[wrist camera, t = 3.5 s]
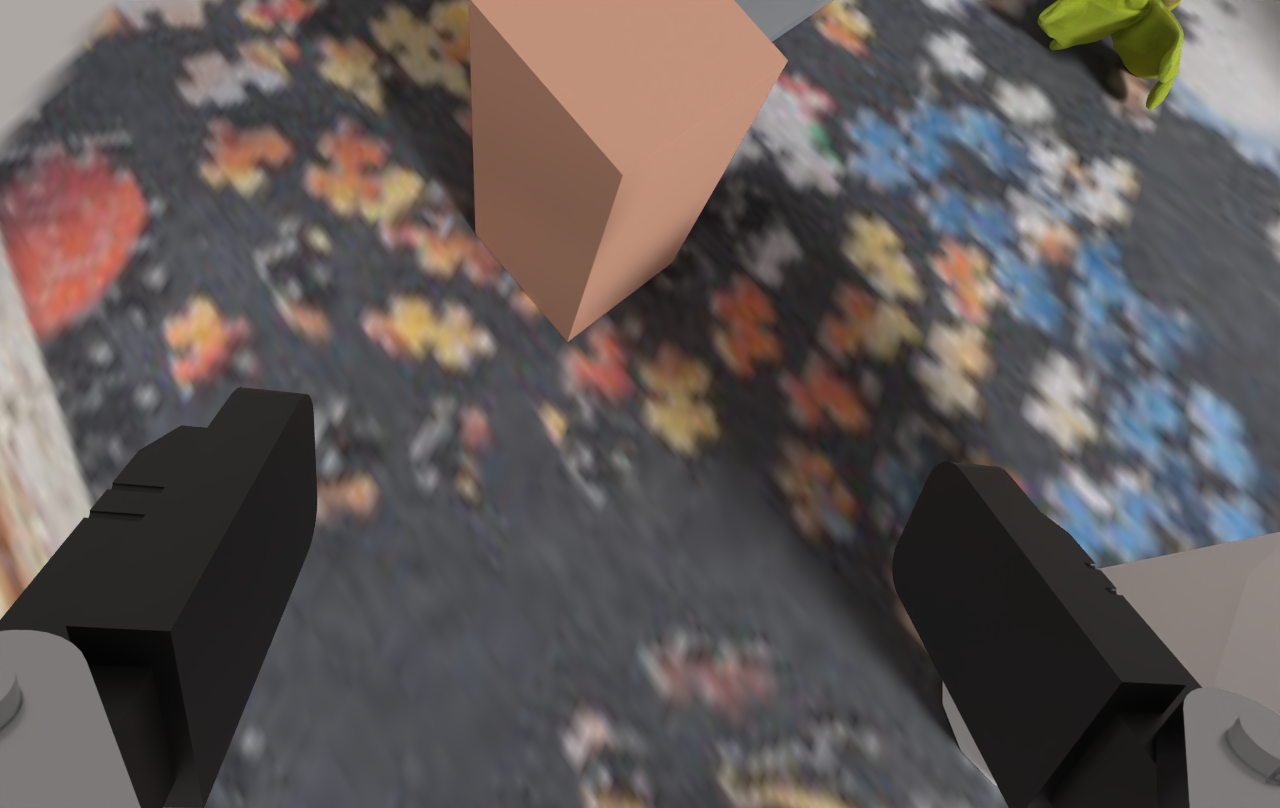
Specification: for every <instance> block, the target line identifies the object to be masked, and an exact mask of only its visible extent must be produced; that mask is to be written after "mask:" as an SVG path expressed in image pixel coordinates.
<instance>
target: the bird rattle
mask: <svg viewBox="0 0 1280 808" xmlns="http://www.w3.org/2000/svg"><path fill="white" fill-rule="evenodd" d="M1180 2H1181V0H1057V1H1056V2H1055V3H1053V4H1052V5H1050V6H1049V7H1048V8H1046V9H1045V10H1044V11H1043V12H1042V13H1041V14H1040V15H1039V19H1038V25H1039V26H1040V27H1041V29H1042V30H1043V31H1044V32H1045V33H1046V34H1047V35H1048V36H1049V37H1051V38H1054V40H1053V41H1052V42H1051V43H1050V45H1049V48H1050V49H1051V50H1061V49H1066V48H1068V47H1071V46H1075V45H1080V44H1088V43H1092V42H1096V41H1099V40H1102V39H1104V38H1106V37H1107V36H1109V35H1111V38H1112V40H1113V46H1114V48H1115V49H1116V51H1117V53H1118V55H1119V56H1120V57H1121V59H1122V62H1123V64H1124V66H1125V67H1126V68H1127V69H1128V70H1129V71H1130V72H1131V73H1132V74H1134V75H1135V76H1137V77H1140V78H1143V79H1155V78H1159V81H1158V82H1157V83H1156V85H1155V86H1154V87H1153V89H1152V90H1151V92H1150V94H1149V95H1148V98H1147V101H1146V107H1147V108H1148V109H1149V110H1152V109H1153V108H1155V107H1156V106H1158V105H1159V104H1160V103H1161V102H1162V101H1163V100H1164V99H1165V97H1166V96H1167V94H1168V92H1169V90H1170V88H1171V86H1172V84H1173V81H1174V79H1175V78H1176V76H1177V74H1178V71H1179V64H1180V55H1181V48H1182V44H1183V37H1184V33H1183V30H1182V28H1181V26H1180V24H1179V22H1178V21H1177V19H1176V18H1175V17H1174V15H1173V14H1172V13H1171V12H1170V11H1171V10H1172V9H1174V8H1175V7H1177V6H1178V5H1179V3H1180Z"/></svg>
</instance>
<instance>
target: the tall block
mask: <svg viewBox="0 0 1280 808" xmlns="http://www.w3.org/2000/svg"><path fill="white" fill-rule="evenodd" d="M468 2H469V35H470V67H471V100H472V132H473V165H474V198H475V230H476V235H477V236H478V237H479V239H480V240H481V241H482V242H483V243H484V244H485V246H486V247H487V248H488V249H489V250H490V252H491V253H492V254H493V255H494V256H495V257H496V259H497V260H498V261H499V262H500V263H501V264H502V266H503V267H504V268H505V269H506V270H507V272H508V273H509V274H510V275H511V276H512V277H513V279H514V280H515V281H516V282H517V283H518V284H519V286H520V287H521V288H522V289H523V290H524V292H525V293H526V294H527V295H528V296H529V297H530V299H531V300H532V301H533V302H534V303H535V304H536V306H537V307H538V308H539V309H540V310H541V312H542V313H543V314H544V315H545V316H546V317H547V319H548V320H549V321H550V322H551V323H552V325H553V326H554V327H555V328H556V329H557V330H558V332H559V333H560V334H561V335H562V336H563V337H564V339H565V340H566V341H567V342H568V341H570V340H571V339H572V338H574V337H575V336H576V335H578V334H579V333H580V332H582V331H583V330H584V329H585V328H587V327H588V326H589V325H591V324H592V323H593V322H595V321H596V320H597V319H599V318H600V317H601V316H603V315H604V314H605V313H607V312H608V311H609V310H610V309H612V308H613V307H614V306H616V305H617V304H618V303H620V302H621V301H622V300H624V299H625V298H626V297H628V296H629V295H630V294H631V293H633V292H634V291H635V290H637V289H638V288H639V287H641V286H642V285H643V284H645V283H646V282H647V281H649V280H650V279H651V278H653V277H654V276H655V275H656V274H658V273H659V272H660V271H662V270H663V269H664V268H666V267H667V266H668V265H670V264H671V263H672V262H673V260H674V259H675V257H676V255H677V253H678V252H679V250H680V248H681V246H682V245H683V243H684V241H685V239H686V238H687V236H688V234H689V232H690V231H691V229H692V227H693V225H694V224H695V222H696V220H697V218H698V217H699V215H700V213H701V211H702V210H703V208H704V206H705V204H706V203H707V201H708V199H709V197H710V196H711V194H712V192H713V190H714V189H715V187H716V185H717V183H718V182H719V180H720V178H721V176H722V175H723V173H724V171H725V170H726V168H727V166H728V164H729V163H730V161H731V159H732V157H733V156H734V154H735V152H736V150H737V149H738V147H739V145H740V143H741V142H742V140H743V138H744V136H745V135H746V133H747V131H748V129H749V128H750V126H751V124H752V122H753V121H754V119H755V117H756V115H757V114H758V112H759V110H760V108H761V107H762V105H763V103H764V101H765V100H766V98H767V96H768V94H769V93H770V91H771V89H772V87H773V86H774V84H775V82H776V80H777V79H778V77H779V75H780V74H781V72H782V70H783V68H784V67H785V65H786V63H787V61H788V60H787V59H786V58H785V57H784V56H783V54H782V53H781V52H780V51H779V50H778V49H777V48H776V47H775V45H774V44H773V43H772V42H771V41H770V40H769V39H768V38H767V36H766V35H765V34H764V33H763V32H762V31H761V30H760V29H759V28H758V26H757V25H756V24H755V23H754V22H753V21H752V20H751V19H750V17H749V16H748V15H747V14H746V13H745V12H744V11H743V10H742V8H741V7H740V6H739V5H738V4H737V3H736V2H735V1H734V0H468Z"/></svg>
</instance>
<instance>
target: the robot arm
mask: <svg viewBox="0 0 1280 808" xmlns="http://www.w3.org/2000/svg"><path fill="white" fill-rule="evenodd" d="M316 513H317V481H316V457H315V434H314V412H313V404H312V400H311V398H310V396H309V395H307V394H300V393H290V392H280V391H271V390H261V389H251V388H241V387H240V388H237V389H236V390H235V391H234V392H233V393H232V394H231V396H230V397H229V398H228V400H227V401H226V403H225V404H224V405H223V407H222V408H221V409H220V411H219V412H218V414H217V415H216V416H215V418H214V419H213V421H212V422H211V423H210V425H209V426H208V428H203V427H192V426H180V427H178V428H176V429H175V430H173V431H171V432H170V433H168V434H166V435H164V436H163V437H161V438H159V439H158V440H156V441H154V442H153V443H151V444H149V445H148V446H146V447H144V448H142V449H141V450H139V451H138V452H137V454H136V455H135V456H134V457H133V458H132V460H131V461H130V462H129V463H128V465H127V466H126V467H125V468H124V469H123V471H122V472H121V473H120V474H119V476H118V477H117V478H116V479H115V480H114V482H113V486H112V489H111V490H108V489H107V490H106V491H105V493H104V494H103V495H102V496H101V498H100V499H99V500H98V501H97V502H96V504H95V505H94V506H93V507H92V509H91V510H90V515H89V518H83V519H82V521H81V522H80V523H79V524H78V526H77V527H76V528H75V529H74V530H73V532H72V533H71V534H70V535H69V537H68V538H67V539H66V540H65V541H64V543H63V544H62V545H61V546H60V548H59V549H58V550H57V551H56V552H55V554H54V555H53V556H52V557H51V559H50V560H49V561H48V562H47V563H46V565H45V566H44V567H43V568H42V570H41V571H40V572H39V573H38V574H37V576H36V577H35V578H34V579H33V581H32V582H31V583H30V584H29V585H28V587H27V588H26V589H25V590H24V592H23V593H22V594H21V595H20V596H19V598H18V599H17V600H16V601H15V603H14V604H13V605H12V606H11V607H10V609H9V610H8V611H7V612H6V614H5V615H4V616H3V617H2V618H1V620H0V808H204V807H205V804H206V802H207V799H208V797H209V794H210V792H211V789H212V787H213V784H214V782H215V780H216V777H217V775H218V772H219V770H220V767H221V765H222V762H223V760H224V757H225V755H226V752H227V750H228V748H229V745H230V743H231V740H232V738H233V735H234V733H235V730H236V728H237V725H238V723H239V720H240V718H241V716H242V713H243V711H244V708H245V706H246V703H247V701H248V698H249V696H250V693H251V691H252V689H253V686H254V684H255V681H256V679H257V676H258V674H259V671H260V669H261V666H262V664H263V661H264V659H265V657H266V654H267V652H268V649H269V647H270V644H271V642H272V639H273V637H274V634H275V632H276V629H277V627H278V625H279V622H280V620H281V617H282V615H283V612H284V610H285V607H286V605H287V602H288V600H289V597H290V595H291V593H292V590H293V588H294V585H295V583H296V580H297V578H298V575H299V573H300V570H301V568H302V566H303V563H304V561H305V558H306V556H307V553H308V550H309V548H310V544H311V541H312V537H313V533H314V527H315V521H316ZM892 571H893V580H894V585H895V588H896V591H897V594H898V596H899V598H900V600H901V602H902V603H903V605H904V607H905V609H906V611H907V613H908V615H909V617H910V619H911V621H912V623H913V625H914V627H915V628H916V630H917V632H918V634H919V636H920V638H921V640H922V642H923V644H924V646H925V648H926V650H927V651H928V653H929V655H930V657H931V659H932V661H933V663H934V665H935V667H936V669H937V671H938V673H939V675H940V676H941V678H942V680H943V682H944V684H945V686H946V688H947V690H948V692H949V694H950V696H951V698H952V699H953V701H954V703H955V705H956V707H957V709H958V711H959V713H960V715H961V717H962V719H963V721H964V723H965V724H966V726H967V728H968V730H969V732H970V734H971V736H972V738H973V740H974V742H975V744H976V746H977V747H978V749H979V751H980V753H981V755H982V757H983V759H984V761H985V763H986V765H987V767H988V769H989V771H990V772H991V774H992V776H993V778H994V780H995V782H996V784H997V786H998V788H999V790H1000V792H1001V794H1002V795H1003V797H1004V799H1005V801H1006V803H1007V805H1008V807H1009V808H1280V715H1279V714H1278V713H1276V712H1275V711H1273V710H1271V709H1270V708H1268V707H1266V706H1264V705H1262V704H1260V703H1258V702H1256V701H1255V700H1252V699H1250V698H1248V697H1245V696H1243V695H1240V694H1237V693H1234V692H1231V691H1228V690H1223V689H1219V688H1209V687H1207V688H1202V687H1201V685H1200V684H1199V683H1198V682H1197V681H1196V680H1195V679H1194V677H1193V676H1192V675H1191V674H1190V673H1189V672H1188V670H1187V669H1186V668H1185V667H1184V666H1183V665H1182V663H1181V662H1180V661H1179V660H1178V659H1177V658H1176V657H1175V655H1174V654H1173V653H1172V652H1171V651H1170V650H1169V648H1168V647H1167V646H1166V645H1165V644H1164V643H1163V641H1162V640H1161V639H1160V638H1159V637H1158V636H1157V635H1156V633H1155V632H1154V631H1153V630H1152V629H1151V628H1150V626H1149V625H1148V624H1147V623H1146V622H1145V621H1144V619H1143V618H1142V617H1141V616H1140V615H1139V614H1138V612H1137V611H1136V610H1135V609H1134V608H1133V607H1132V606H1131V604H1130V603H1129V602H1128V601H1127V600H1126V599H1125V597H1124V596H1123V595H1117V593H1116V590H1117V588H1116V587H1115V586H1114V585H1113V584H1112V582H1111V581H1110V580H1109V579H1108V578H1107V577H1106V575H1105V574H1104V573H1103V572H1102V571H1101V570H1098V569H1095V563H1094V562H1093V560H1092V559H1091V558H1090V557H1089V556H1088V555H1087V553H1086V552H1085V551H1084V550H1083V549H1082V548H1081V546H1080V545H1079V544H1078V543H1077V542H1076V541H1075V539H1074V538H1073V537H1072V536H1071V535H1070V534H1069V533H1068V532H1067V531H1065V530H1064V529H1063V528H1061V527H1060V526H1059V525H1057V524H1056V523H1055V522H1053V521H1052V520H1051V519H1049V518H1048V517H1047V516H1045V515H1044V514H1043V513H1041V512H1040V511H1039V510H1038V508H1037V507H1036V506H1035V505H1034V504H1033V502H1032V501H1031V500H1030V499H1029V498H1028V497H1027V495H1026V494H1025V493H1024V492H1023V491H1022V489H1021V488H1020V487H1019V486H1018V485H1017V484H1016V482H1015V481H1014V480H1013V479H1012V478H1011V476H1010V475H1009V474H1008V473H1007V472H1006V471H1005V470H1003V469H1002V468H999V467H995V466H985V465H975V464H966V463H956V462H942V463H940V464H938V465H937V466H936V467H935V468H934V469H933V470H932V472H931V473H930V475H929V477H928V479H927V481H926V483H925V486H924V488H923V490H922V492H921V494H920V496H919V498H918V501H917V503H916V505H915V507H914V509H913V511H912V514H911V516H910V518H909V520H908V522H907V524H906V526H905V529H904V531H903V533H902V535H901V537H900V539H899V541H898V544H897V546H896V549H895V552H894V556H893V566H892Z"/></svg>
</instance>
